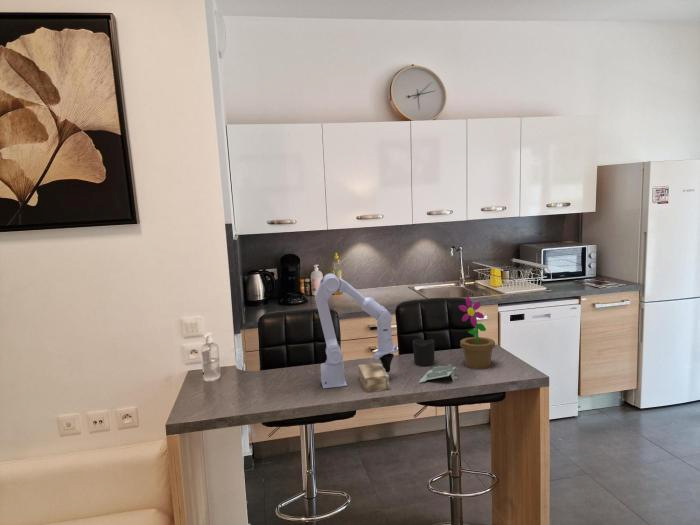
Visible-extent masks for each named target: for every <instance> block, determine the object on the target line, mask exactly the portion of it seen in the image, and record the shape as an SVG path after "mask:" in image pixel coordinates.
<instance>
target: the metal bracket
mask: <svg viewBox="0 0 700 525" xmlns="http://www.w3.org/2000/svg"><path fill="white" fill-rule="evenodd" d="M455 369H456V366H452V364H448V365H445V366H444V365H443V366H442V365H439V366H435V367H431V369H429V370H428V371H427V372H425V374H424V376H422V377H421V378H420V379H419V380H420V381H419V380H418V381H419V382H418V381H417V383H418V384H420V383H425V382H426V381H429V380H435V379H440V378H445V377H451V379H452V382H455V380H456V379H458V376H456V375H455Z"/></svg>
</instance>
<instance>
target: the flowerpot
mask: <svg viewBox="0 0 700 525" xmlns="http://www.w3.org/2000/svg"><path fill="white" fill-rule="evenodd" d="M465 304H466V305H463V304H460V305H458V309H459V310H460V311H462V312H464V313H465V312H467V313H465V314H463V316H462V318H461V321H462V322H467V320H469V319H470V324H471V325H472V326H473V327H475V329H470V330H468V331H467V333H468V334H470V335H473V337H471V336H470V337H465V338H462V339H461V340H459V343H460V344H459V345H460V348H462V349H463V356H464V362H465V365H466V367H468V368H471V369H486V368H489V367H490V366H491V365H492V354H493V349H494V348H495V347H496V342H495V340H494V339H492V338H488V337H481V336H479V331H480V332H485V331H487V328H486V326H485V325H484V324H482V323H480V322H479V323H478V320H477V318H478V319H481V320H482V319H484V318H485V315H484V314H483V313H482V312H480V311H475V310H478V309H479V308H481V304H482V303H481V301H477V302H475V303H474V304H473V302H472V300H471V298H470V297H469V296H467V297H466V298H465Z"/></svg>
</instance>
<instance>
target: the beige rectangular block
mask: <svg viewBox="0 0 700 525" xmlns="http://www.w3.org/2000/svg"><path fill="white" fill-rule="evenodd" d="M378 364H379V363H376V362H375V363H366V364H358V365H357V366H358V380H359V381H360V383H361V385H362V387H363V389H364V391H365V392H366V393H371V392H379V391H387V390H390V380H391V377H390V376H389V374H388V372H386V371H385V370H382V369H381V368H380V366H379V365H378Z"/></svg>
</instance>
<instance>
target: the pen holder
mask: <svg viewBox="0 0 700 525" xmlns="http://www.w3.org/2000/svg"><path fill="white" fill-rule="evenodd" d="M412 348H413V349H412V350H413V361H414V362H413V363H414V364H415V365H416V366H418V365H420V366H419V367H429V366H432V365H434V364H435V340H434V339H431V338H430V339H426V340H425V339H422V338H415V339H413V340H412Z"/></svg>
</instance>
